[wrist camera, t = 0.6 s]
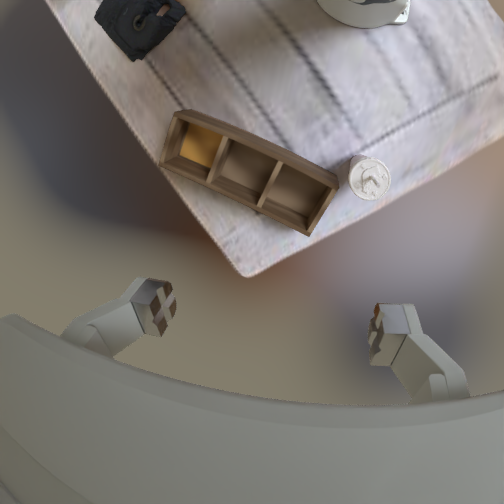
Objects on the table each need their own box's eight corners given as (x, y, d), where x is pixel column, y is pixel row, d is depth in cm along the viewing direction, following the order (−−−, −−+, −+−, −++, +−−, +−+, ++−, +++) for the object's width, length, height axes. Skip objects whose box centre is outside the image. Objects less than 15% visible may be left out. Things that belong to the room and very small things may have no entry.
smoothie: (383, 156, 41) (407, 178, 30) (369, 187, 45) (386, 220, 33) (350, 140, 41) (364, 157, 30) (336, 173, 45) (344, 201, 33)
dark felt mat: (137, -31, 27) (124, -36, 23) (193, 14, 34) (182, 8, 30) (92, 19, 35) (78, 17, 31) (138, 68, 41) (124, 67, 37)
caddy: (191, 109, 44) (174, 111, 39) (336, 175, 45) (339, 186, 40) (174, 158, 50) (157, 166, 44) (309, 221, 51) (308, 238, 46)
